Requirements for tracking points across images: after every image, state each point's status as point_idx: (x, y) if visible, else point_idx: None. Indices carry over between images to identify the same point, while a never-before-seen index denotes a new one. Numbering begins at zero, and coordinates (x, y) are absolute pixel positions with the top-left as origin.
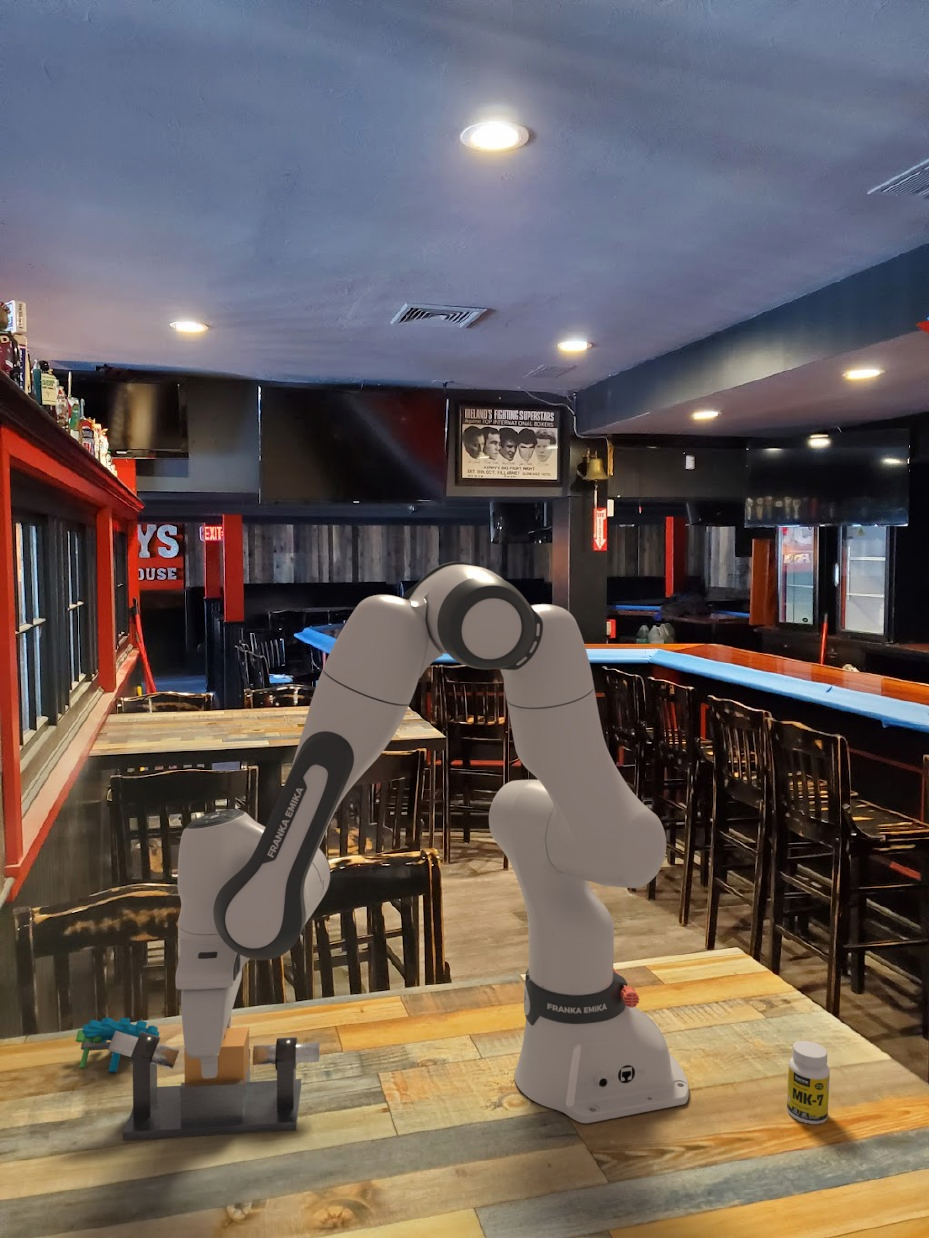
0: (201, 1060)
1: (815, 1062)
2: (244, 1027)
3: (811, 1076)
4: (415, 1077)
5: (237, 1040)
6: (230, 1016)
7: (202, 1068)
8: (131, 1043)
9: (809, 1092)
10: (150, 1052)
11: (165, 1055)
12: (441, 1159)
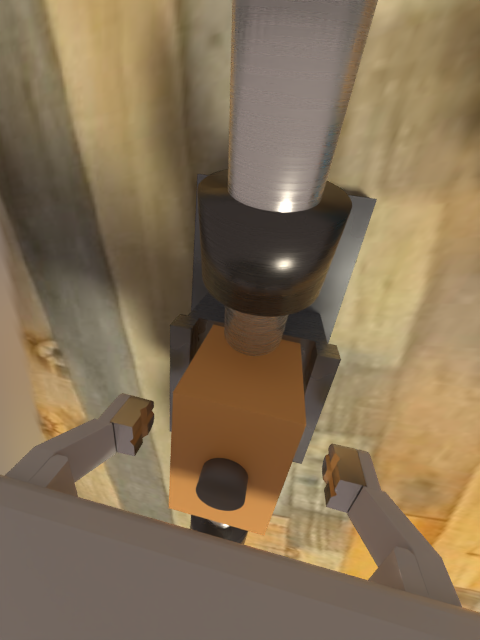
0: (74, 431)
1: None
2: (264, 528)
3: None
4: (265, 537)
5: (199, 503)
6: (351, 520)
7: (108, 409)
8: (237, 172)
9: None
10: (202, 269)
11: (226, 313)
12: (130, 508)
